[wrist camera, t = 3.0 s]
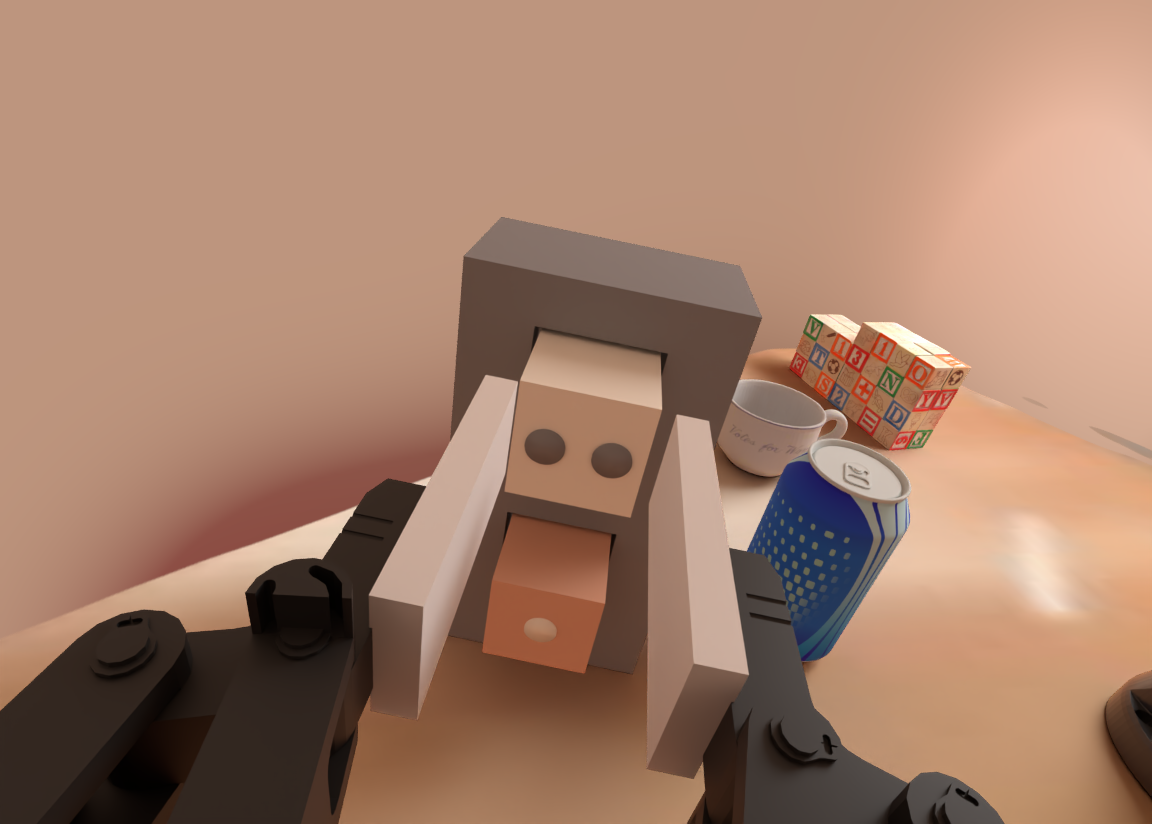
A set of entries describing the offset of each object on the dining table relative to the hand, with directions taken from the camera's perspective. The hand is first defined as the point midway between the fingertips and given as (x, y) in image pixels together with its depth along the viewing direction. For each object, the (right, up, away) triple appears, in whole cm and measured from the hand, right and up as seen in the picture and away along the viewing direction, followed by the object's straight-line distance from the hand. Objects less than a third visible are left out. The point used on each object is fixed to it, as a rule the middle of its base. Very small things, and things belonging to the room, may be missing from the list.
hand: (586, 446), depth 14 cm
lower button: (-2, -11, +23) cm, 26 cm away
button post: (-3, -14, +30) cm, 34 cm away
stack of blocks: (+39, +2, +70) cm, 80 cm away
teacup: (+22, -5, +53) cm, 58 cm away
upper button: (0, -1, +17) cm, 17 cm away
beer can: (+16, -16, +33) cm, 40 cm away
